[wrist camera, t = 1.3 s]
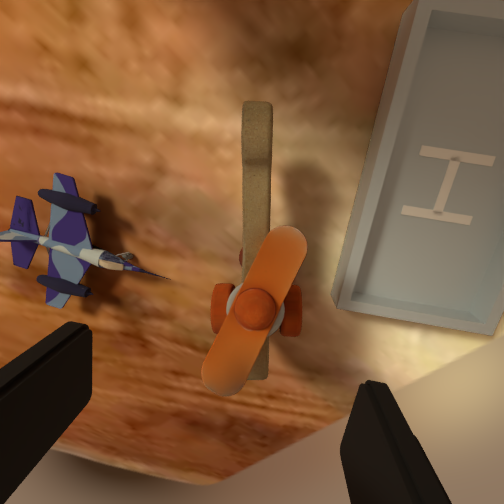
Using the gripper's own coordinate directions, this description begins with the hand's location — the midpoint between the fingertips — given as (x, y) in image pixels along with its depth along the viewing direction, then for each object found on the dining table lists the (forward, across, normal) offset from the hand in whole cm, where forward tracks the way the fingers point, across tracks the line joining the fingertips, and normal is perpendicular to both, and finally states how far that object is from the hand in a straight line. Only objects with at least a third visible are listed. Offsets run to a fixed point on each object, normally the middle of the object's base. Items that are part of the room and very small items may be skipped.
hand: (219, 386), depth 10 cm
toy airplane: (+19, +17, +3) cm, 26 cm away
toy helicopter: (+19, 0, 0) cm, 19 cm away
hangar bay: (+19, -15, -9) cm, 26 cm away
